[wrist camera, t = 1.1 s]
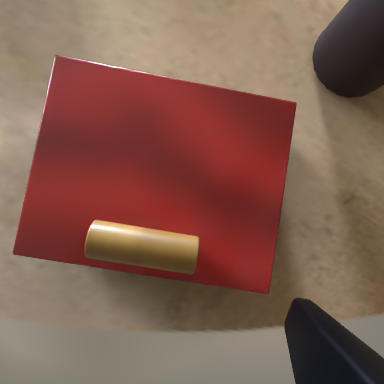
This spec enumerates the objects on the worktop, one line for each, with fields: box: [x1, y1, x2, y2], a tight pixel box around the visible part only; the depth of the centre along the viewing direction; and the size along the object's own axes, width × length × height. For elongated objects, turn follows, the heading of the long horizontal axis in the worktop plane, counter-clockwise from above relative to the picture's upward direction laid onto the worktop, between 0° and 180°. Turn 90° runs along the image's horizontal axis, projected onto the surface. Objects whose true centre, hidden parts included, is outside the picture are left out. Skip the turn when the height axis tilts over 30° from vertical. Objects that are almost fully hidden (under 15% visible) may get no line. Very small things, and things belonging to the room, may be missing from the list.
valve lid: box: [13, 55, 296, 294], centre depth 15 cm, size 12×16×5 cm
